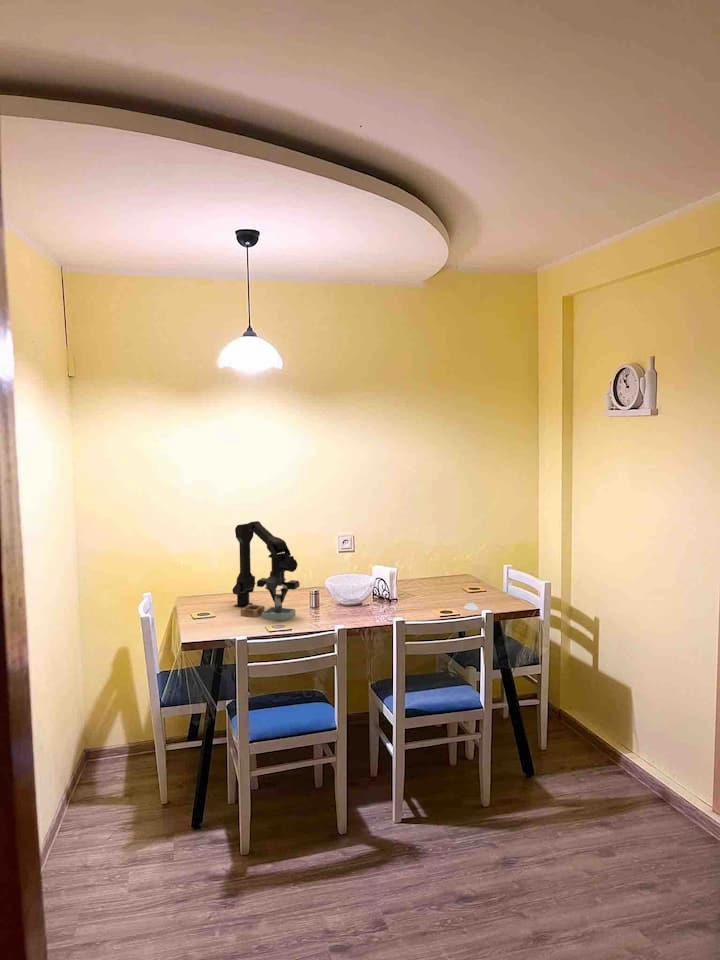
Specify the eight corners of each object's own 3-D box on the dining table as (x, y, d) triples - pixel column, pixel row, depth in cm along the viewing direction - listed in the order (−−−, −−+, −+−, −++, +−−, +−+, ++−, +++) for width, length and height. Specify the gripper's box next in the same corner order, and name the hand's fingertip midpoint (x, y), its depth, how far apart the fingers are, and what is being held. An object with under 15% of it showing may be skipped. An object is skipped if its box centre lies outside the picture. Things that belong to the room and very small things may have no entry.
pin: (276, 610, 299) (276, 593, 298) (283, 611, 298) (283, 594, 297) (273, 612, 296) (273, 595, 295) (280, 613, 295) (280, 596, 294)
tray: (271, 612, 304) (271, 606, 304) (295, 614, 300) (295, 609, 300) (261, 618, 294) (261, 612, 294) (286, 620, 291) (286, 615, 290)
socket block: (248, 610, 306) (248, 604, 306) (264, 612, 304) (264, 606, 304) (240, 615, 299) (240, 609, 298) (256, 617, 296) (256, 610, 296)
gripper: (250, 570, 290) (251, 605, 292) (289, 573, 285) (290, 609, 286) (262, 565, 301) (262, 598, 302) (299, 568, 295) (300, 602, 297)
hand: (278, 602), depth 297 cm, fingers closed on pin, 3 cm apart
